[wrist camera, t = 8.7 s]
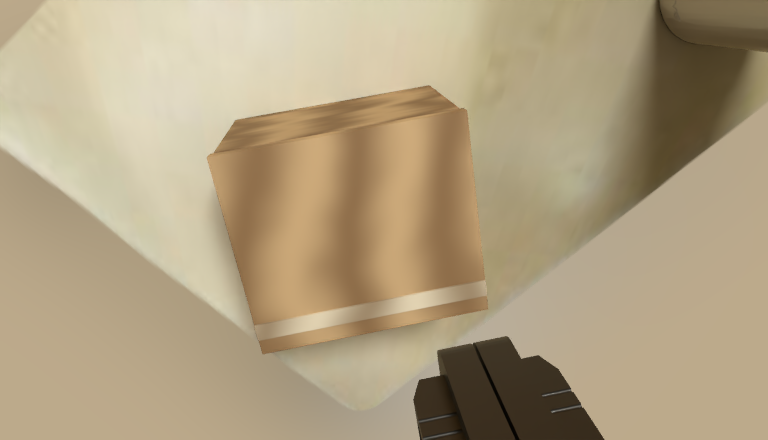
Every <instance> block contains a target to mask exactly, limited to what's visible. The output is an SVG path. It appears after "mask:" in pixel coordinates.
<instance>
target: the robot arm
mask: <svg viewBox="0 0 768 440" xmlns="http://www.w3.org/2000/svg"><path fill="white" fill-rule="evenodd" d="M660 9H661V13H662V17H663V19H664V21H665V23H666V25H667V27H668V28H669V29H670V30H671V31H672V32H673V33H674V35H676V36H677V37H679V38H680V39H682V40H684V41H687V42H690V43H694V44H703V45H711V46H720V47H727V48H736V49H744V50H753V51H761V52H768V0H660ZM437 354H438V362H439V370H440V376H436V377H431V378H426V379H421V380H419V382H418V385H417V389H416V392H415V396H414V399H413V400H414V405H415V411H416V417H417V423H418V429H419V435H420V440H604V438H603V437H602V435H601V434H600V432H599V431H598V429H597V428H596V426H595V425H594V423H593V421H592V420H591V418H590V417H589V415H588V414H587V412H586V411H585V409H584V408H582V406H581V403H580V402H579V400H578V399H577V397H576V396H575V394H574V392H572V391H571V388H570V386H569V385H568V383H567V382H566V380H565V379H564V377H563V376H562V374H561V373H560V371H559V369H557V368H556V367H554V366H553V365H551V364H550V363H549V362H547V361H546V360H544V359H543V358H541V357H540V356H533V357H528V358H523V359H521V358H520V356H519V355H518V352H517V351H516V349H515V347H514V345H513V344H512V342H511V340H510V339H509V337H507V336H505V337H501V338H495V339H491V340H485V341H480V342H476V343H473V345H472V344H466V345H462V346H457V347H452V348H447V349H442V350H438V351H437Z"/></svg>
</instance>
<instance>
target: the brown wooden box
mask: <svg viewBox="0 0 768 440" xmlns="http://www.w3.org/2000/svg"><path fill="white" fill-rule="evenodd" d="M456 109H459V108H458V107H457V106H456V105H454V104H453V103H452V102H451V101H449V100H448V99H447V98H445V97H444V96H443V95H441V94H440V93H439V92H437V91H436V90H435V89H433V88H432V87H431V86H423V87H418V88H412V89H407V90H401V91H396V92H390V93H384V94H379V95H373V96H368V97H362V98H356V99H351V100H345V101H340V102H334V103H328V104H323V105H317V106H312V107H306V108H300V109H295V110H289V111H284V112H278V113H273V114H267V115H261V116H256V117H250V118H245V119H239V120H236V121H235V122H234V123H233V125H232V126H231V128H230V129H229V131H228V132H227V134H226V135H225V137H224V138H223V140H222V141H221V143H220V144H219V146H218V147H217V149H216V150H215V152H214V153H219V152H224V151H230V150H235V149H241V148H246V147H252V146H257V145H263V144H268V143H274V142H279V141H285V140H290V139H296V138H301V137H307V136H312V135H318V134H323V133H329V132H334V131H340V130H345V129H351V128H356V127H362V126H367V125H373V124H378V123H384V122H390V121H395V120H401V119H406V118H412V117H417V116H423V115H428V114H434V113H439V112H445V111H450V110H456Z"/></svg>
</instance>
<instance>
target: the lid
mask: <svg viewBox="0 0 768 440" xmlns="http://www.w3.org/2000/svg"><path fill="white" fill-rule="evenodd" d="M207 160H208V163H209V167H210V171H211V174H212V178H213V181H214V185H215V188H216V192H217V195H218V199H219V202H220V206H221V209H222V213H223V216H224V220H225V223H226V227H227V230H228V234H229V237H230V241H231V245H232V248H233V252H234V255H235V259H236V262H237V266H238V269H239V273H240V276H241V280H242V283H243V287H244V290H245V294H246V297H247V301H248V304H249V308H250V311H251V315H252V318H253V322H254V328H255V331H256V335H257V338H258V341H259V343H260V347H261V350H262V353H263V354H266V353H271V352H276V351H281V350H286V349H291V348H296V347H301V346H306V345H311V344H316V343H321V342H326V341H331V340H336V339H341V338H346V337H351V336H356V335H361V334H366V333H371V332H376V331H381V330H386V329H391V328H396V327H401V326H406V325H411V324H416V323H421V322H426V321H431V320H436V319H441V318H446V317H451V316H456V315H461V314H466V313H471V312H476V311H481V310H486V309H488V303H487V289H486V280H485V275H484V266H483V256H482V247H481V238H480V228H479V219H478V209H477V200H476V191H475V181H474V172H473V162H472V153H471V144H470V134H469V125H468V115H467V110H466V109H464V108H461V109H456V110H450V111H445V112H439V113H434V114H428V115H423V116H417V117H412V118H406V119H401V120H395V121H390V122H384V123H378V124H373V125H367V126H362V127H356V128H351V129H345V130H340V131H334V132H329V133H323V134H318V135H312V136H307V137H301V138H296V139H290V140H285V141H279V142H274V143H268V144H263V145H257V146H252V147H246V148H241V149H235V150H230V151H224V152H219V153H213V154H210V155H209V156H208V157H207Z"/></svg>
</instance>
